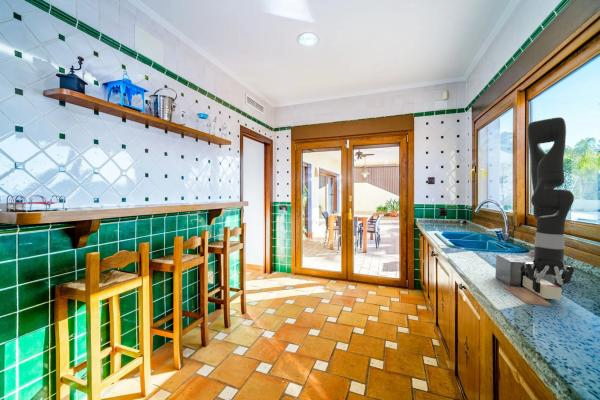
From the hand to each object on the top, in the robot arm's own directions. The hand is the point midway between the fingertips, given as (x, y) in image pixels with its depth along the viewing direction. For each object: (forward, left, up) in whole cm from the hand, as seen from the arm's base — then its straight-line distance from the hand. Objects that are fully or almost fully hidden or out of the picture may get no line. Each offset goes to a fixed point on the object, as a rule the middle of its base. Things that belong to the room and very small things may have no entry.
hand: (546, 292), depth 92 cm
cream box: (-3, 0, -1) cm, 3 cm away
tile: (0, -6, -2) cm, 6 cm away
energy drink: (-25, +10, -2) cm, 28 cm away
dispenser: (-15, 0, -2) cm, 16 cm away
